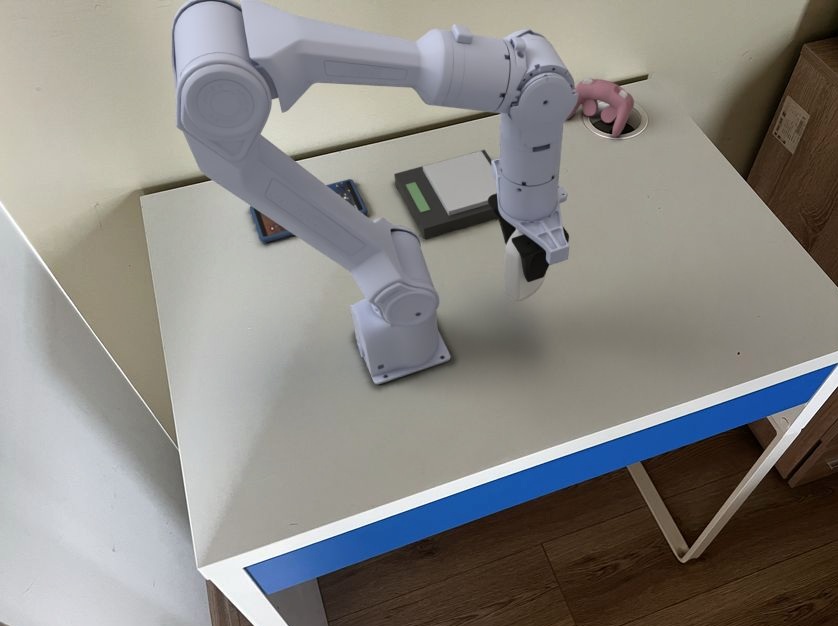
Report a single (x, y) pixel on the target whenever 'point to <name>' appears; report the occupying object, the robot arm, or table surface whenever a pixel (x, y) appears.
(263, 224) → the smartphone
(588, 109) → the video game controller
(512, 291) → the eye dropper bottle
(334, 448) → the table surface
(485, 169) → the scale
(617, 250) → the table surface
